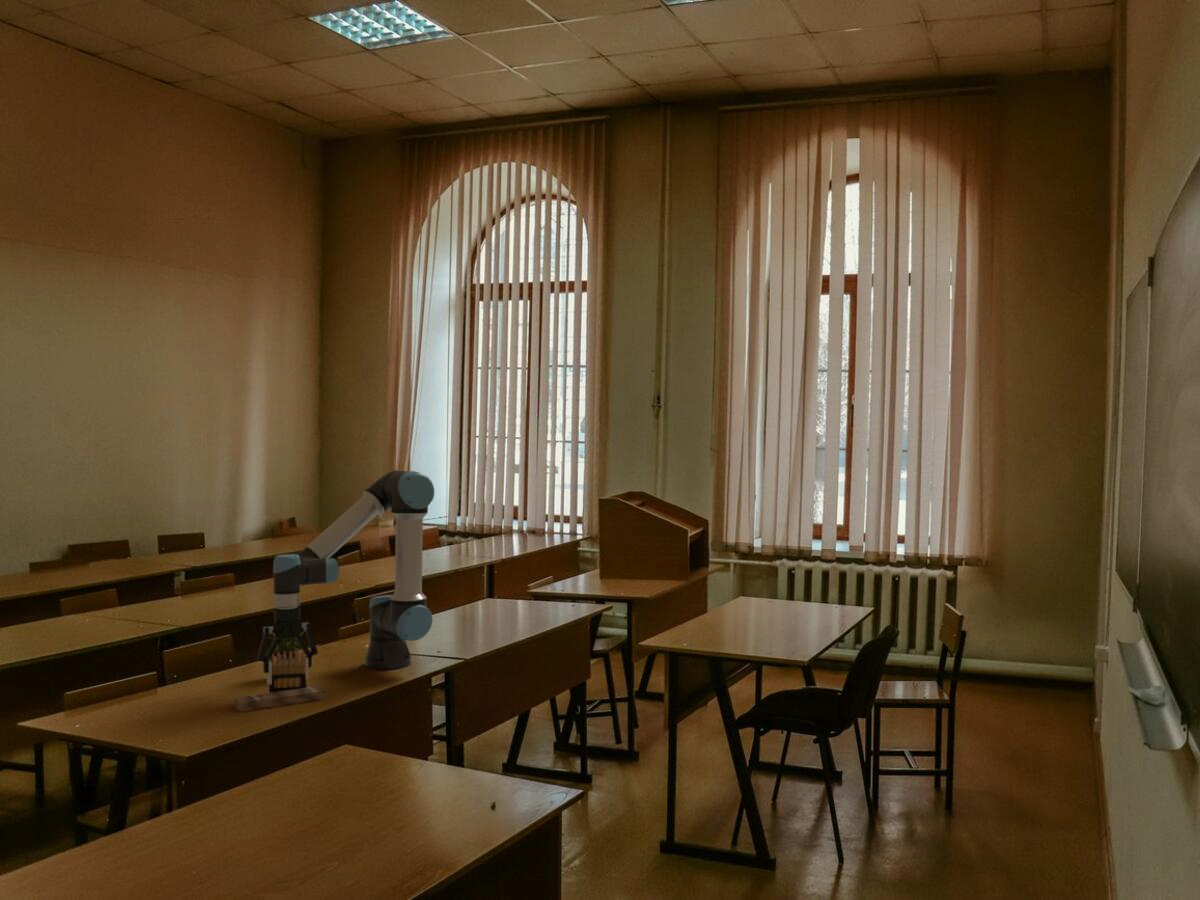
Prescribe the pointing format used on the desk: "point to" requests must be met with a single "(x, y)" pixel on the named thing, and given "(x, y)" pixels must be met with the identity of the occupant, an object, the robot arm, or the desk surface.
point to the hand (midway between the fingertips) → (287, 681)
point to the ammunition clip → (288, 672)
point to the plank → (279, 698)
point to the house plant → (287, 648)
